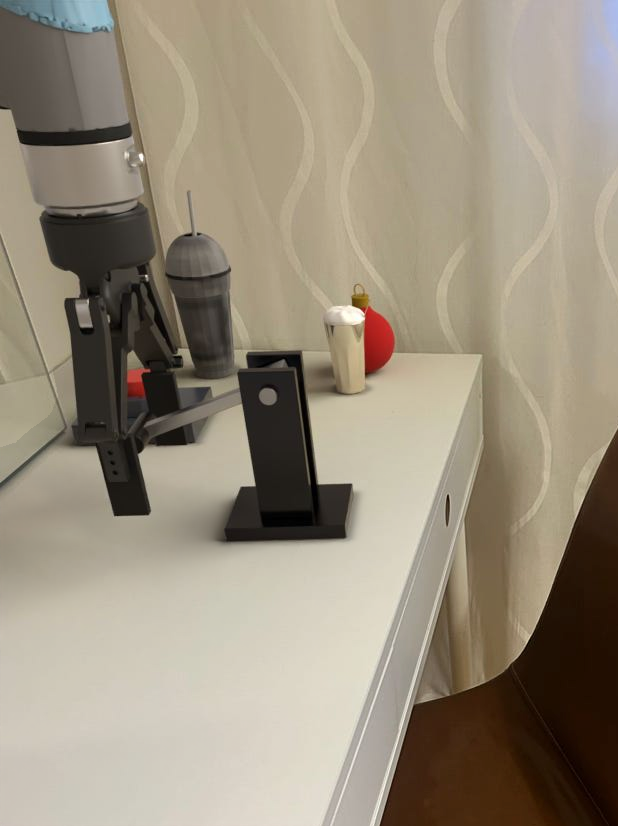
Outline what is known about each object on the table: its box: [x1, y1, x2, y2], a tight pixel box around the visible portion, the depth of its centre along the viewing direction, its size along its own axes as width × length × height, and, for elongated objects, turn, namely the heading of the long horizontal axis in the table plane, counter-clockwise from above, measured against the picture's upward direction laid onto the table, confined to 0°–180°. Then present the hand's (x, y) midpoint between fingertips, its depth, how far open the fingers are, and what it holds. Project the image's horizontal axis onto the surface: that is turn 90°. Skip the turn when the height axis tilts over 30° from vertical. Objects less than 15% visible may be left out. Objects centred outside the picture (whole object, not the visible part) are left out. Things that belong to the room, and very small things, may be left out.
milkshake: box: [322, 298, 371, 395], centre depth 107 cm, size 4×5×10 cm
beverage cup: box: [164, 190, 236, 380], centre depth 109 cm, size 7×7×20 cm
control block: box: [70, 386, 214, 447], centre depth 101 cm, size 12×10×4 cm
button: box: [127, 368, 150, 397], centre depth 99 cm, size 4×4×2 cm
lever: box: [128, 359, 288, 455], centre depth 78 cm, size 14×5×2 cm, turn 92°
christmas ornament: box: [350, 283, 396, 374], centre depth 112 cm, size 7×7×10 cm
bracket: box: [223, 349, 355, 542], centre depth 80 cm, size 10×8×14 cm
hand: (154, 477), depth 82 cm, fingers open, 13 cm apart
